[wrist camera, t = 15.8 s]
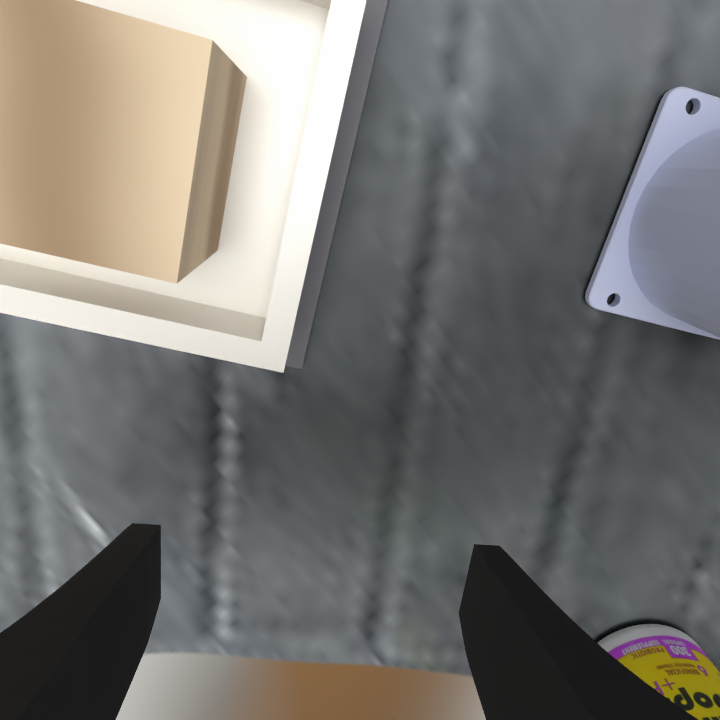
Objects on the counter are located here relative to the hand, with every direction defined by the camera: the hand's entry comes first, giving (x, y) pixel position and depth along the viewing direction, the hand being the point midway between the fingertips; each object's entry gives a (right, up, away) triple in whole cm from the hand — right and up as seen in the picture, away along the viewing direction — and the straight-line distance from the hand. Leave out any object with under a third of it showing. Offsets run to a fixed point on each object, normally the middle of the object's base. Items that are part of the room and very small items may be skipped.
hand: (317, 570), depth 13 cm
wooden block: (-5, +11, +3) cm, 13 cm away
